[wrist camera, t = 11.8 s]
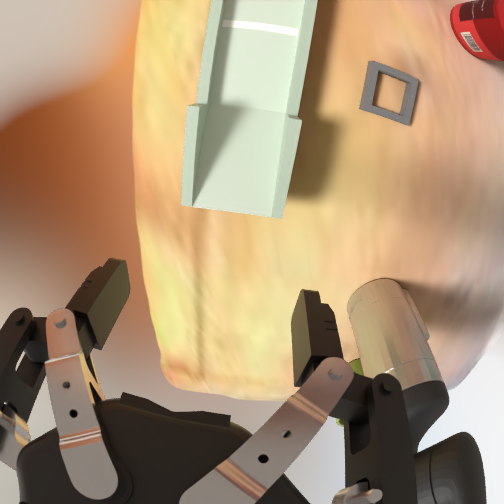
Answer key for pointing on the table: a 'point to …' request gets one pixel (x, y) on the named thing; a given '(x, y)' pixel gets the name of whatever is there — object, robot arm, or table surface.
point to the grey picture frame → (370, 89)
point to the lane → (247, 106)
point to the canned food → (480, 28)
